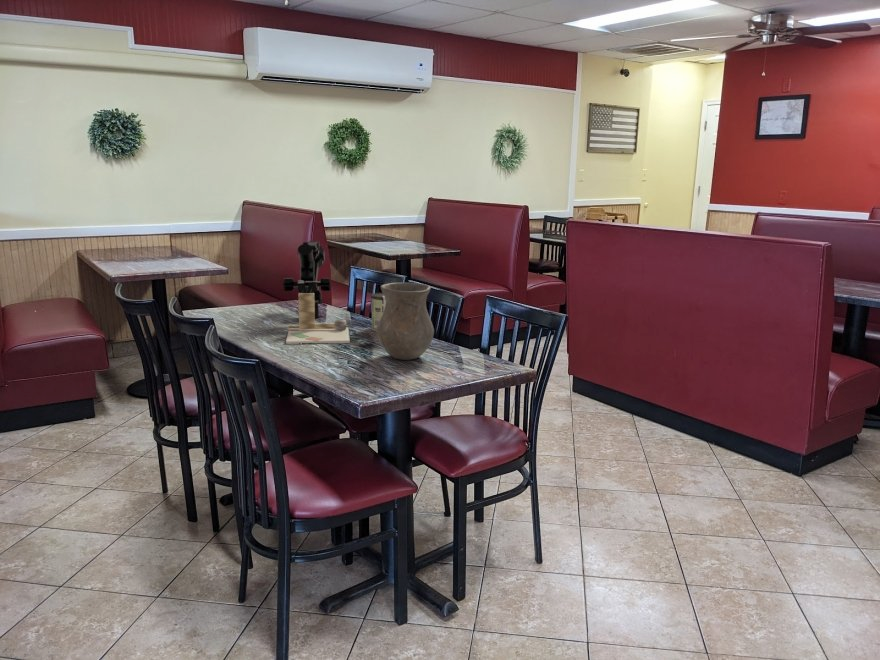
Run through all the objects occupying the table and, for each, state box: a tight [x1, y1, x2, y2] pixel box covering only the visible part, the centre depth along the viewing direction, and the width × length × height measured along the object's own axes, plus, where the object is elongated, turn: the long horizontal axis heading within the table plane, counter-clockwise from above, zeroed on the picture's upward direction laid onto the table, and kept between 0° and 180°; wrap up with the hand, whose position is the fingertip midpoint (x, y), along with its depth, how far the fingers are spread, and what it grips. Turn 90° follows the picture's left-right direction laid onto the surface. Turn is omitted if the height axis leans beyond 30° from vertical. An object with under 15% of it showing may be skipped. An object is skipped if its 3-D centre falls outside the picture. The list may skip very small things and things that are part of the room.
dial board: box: [285, 326, 351, 345], centre depth 265 cm, size 23×22×1 cm
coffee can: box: [370, 292, 384, 332], centre depth 278 cm, size 10×10×14 cm
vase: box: [376, 281, 435, 361], centre depth 236 cm, size 20×19×25 cm
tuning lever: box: [288, 292, 347, 330], centre depth 270 cm, size 22×4×14 cm, turn 99°
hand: (307, 301), depth 276 cm, fingers closed
